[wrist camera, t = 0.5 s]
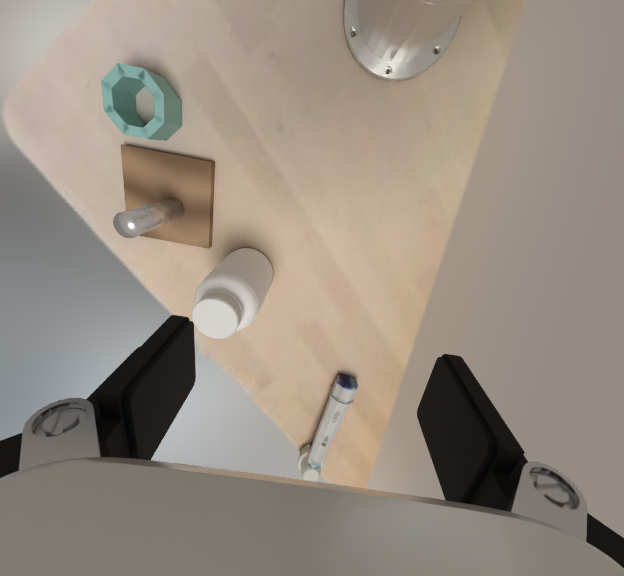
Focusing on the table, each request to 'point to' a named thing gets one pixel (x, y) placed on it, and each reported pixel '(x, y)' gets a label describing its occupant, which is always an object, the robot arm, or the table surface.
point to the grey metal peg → (147, 217)
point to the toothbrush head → (327, 427)
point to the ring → (122, 103)
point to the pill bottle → (232, 293)
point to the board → (171, 191)
